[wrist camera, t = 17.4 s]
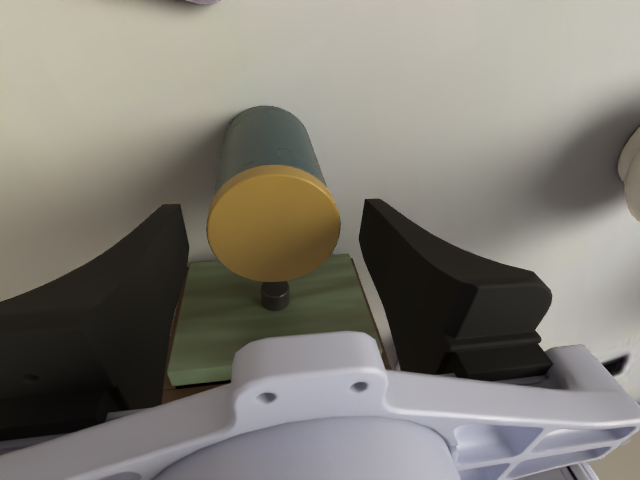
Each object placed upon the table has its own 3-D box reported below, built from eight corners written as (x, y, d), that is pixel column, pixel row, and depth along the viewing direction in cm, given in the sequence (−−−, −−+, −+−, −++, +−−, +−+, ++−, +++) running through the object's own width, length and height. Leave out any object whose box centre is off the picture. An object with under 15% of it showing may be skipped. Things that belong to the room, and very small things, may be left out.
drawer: (186, 247, 21) (160, 357, 15) (351, 239, 23) (387, 335, 17) (214, 373, 29) (204, 477, 23) (333, 360, 31) (353, 454, 25)
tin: (314, 104, 18) (347, 172, 12) (310, 188, 21) (335, 278, 15) (215, 102, 17) (196, 175, 11) (225, 190, 20) (214, 286, 14)
